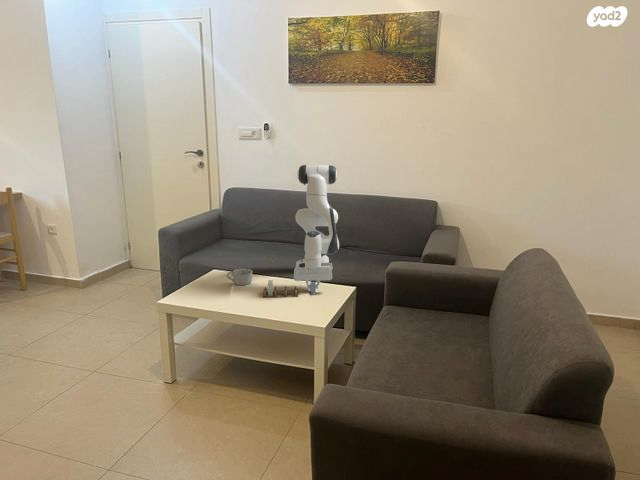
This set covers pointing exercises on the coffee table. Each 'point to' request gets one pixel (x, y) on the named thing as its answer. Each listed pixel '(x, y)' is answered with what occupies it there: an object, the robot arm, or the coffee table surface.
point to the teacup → (241, 276)
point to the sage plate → (270, 287)
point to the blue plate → (313, 287)
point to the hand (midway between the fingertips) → (312, 288)
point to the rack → (281, 293)
